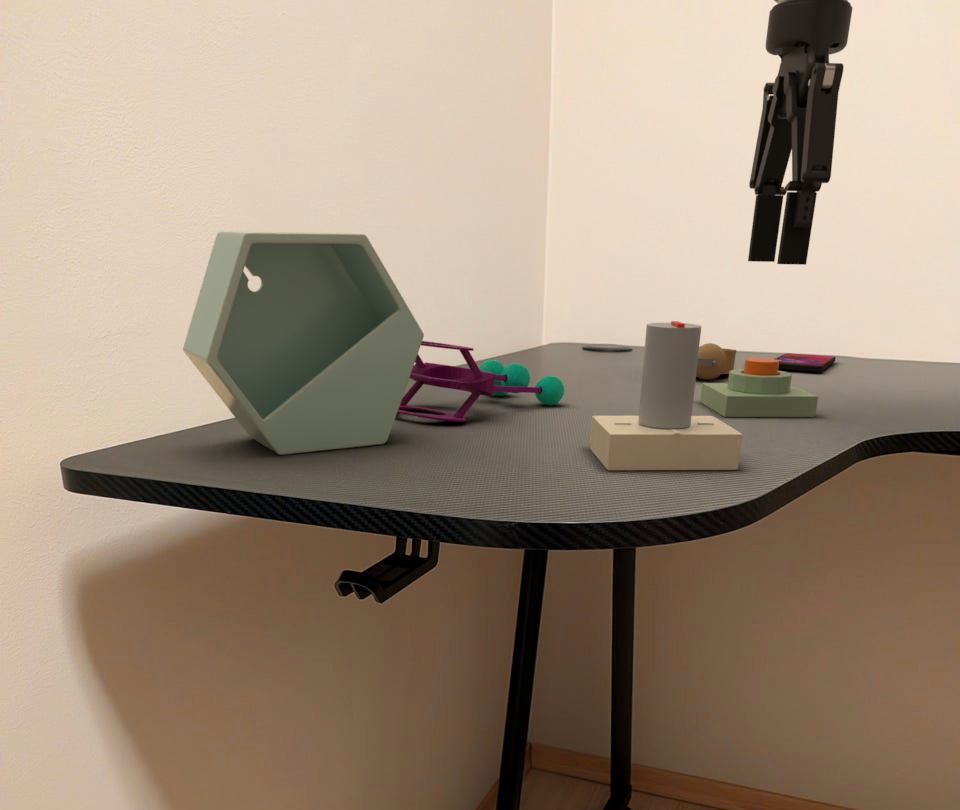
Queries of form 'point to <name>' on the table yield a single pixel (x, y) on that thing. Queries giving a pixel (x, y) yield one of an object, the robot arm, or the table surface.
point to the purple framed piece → (476, 382)
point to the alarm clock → (714, 361)
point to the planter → (304, 339)
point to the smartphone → (804, 362)
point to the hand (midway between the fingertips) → (775, 262)
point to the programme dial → (669, 374)
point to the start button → (761, 366)
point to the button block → (758, 396)
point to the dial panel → (665, 445)
